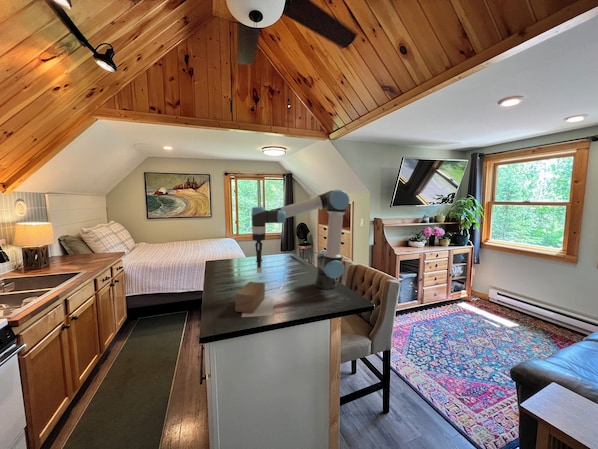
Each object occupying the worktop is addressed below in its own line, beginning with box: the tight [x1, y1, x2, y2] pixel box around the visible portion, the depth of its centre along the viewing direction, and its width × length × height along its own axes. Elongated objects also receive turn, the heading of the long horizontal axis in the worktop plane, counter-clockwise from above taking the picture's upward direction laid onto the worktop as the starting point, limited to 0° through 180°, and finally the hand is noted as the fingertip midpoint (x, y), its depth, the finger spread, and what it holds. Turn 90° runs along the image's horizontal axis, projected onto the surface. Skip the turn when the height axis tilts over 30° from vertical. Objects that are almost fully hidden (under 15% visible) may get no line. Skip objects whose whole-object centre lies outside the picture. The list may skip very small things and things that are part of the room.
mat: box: [241, 298, 274, 318], centre depth 136 cm, size 16×21×1 cm
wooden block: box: [234, 281, 266, 313], centre depth 138 cm, size 10×10×20 cm
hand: (259, 272), depth 149 cm, fingers closed
